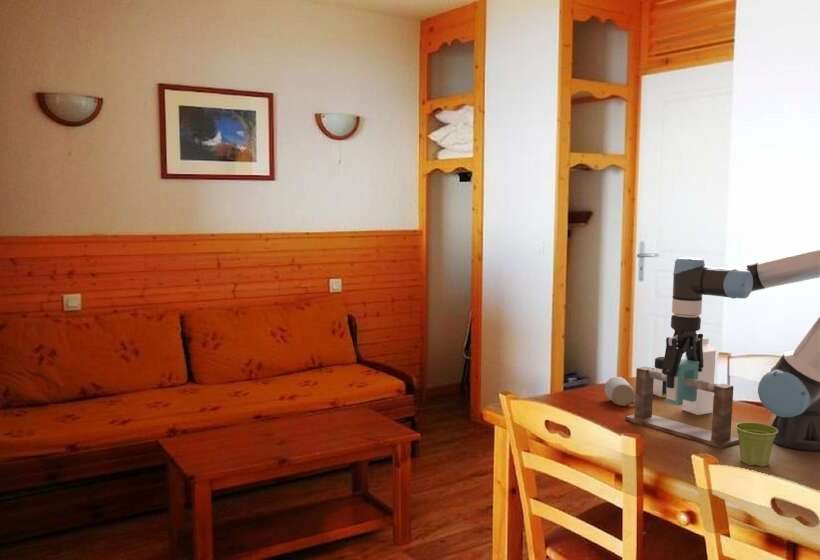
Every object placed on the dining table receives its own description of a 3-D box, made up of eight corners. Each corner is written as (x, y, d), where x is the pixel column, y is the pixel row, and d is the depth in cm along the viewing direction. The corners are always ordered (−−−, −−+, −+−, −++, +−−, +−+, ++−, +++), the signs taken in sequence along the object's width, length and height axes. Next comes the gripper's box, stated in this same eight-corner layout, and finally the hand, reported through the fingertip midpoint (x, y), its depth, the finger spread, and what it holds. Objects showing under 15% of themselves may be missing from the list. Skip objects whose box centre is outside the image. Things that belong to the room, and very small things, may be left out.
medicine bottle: (662, 397, 240) (664, 360, 239) (646, 392, 247) (648, 356, 245) (679, 395, 243) (681, 359, 242) (663, 390, 249) (665, 354, 248)
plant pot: (757, 471, 176) (759, 435, 175) (724, 458, 184) (726, 424, 184) (784, 466, 180) (787, 431, 179) (752, 453, 188) (754, 420, 187)
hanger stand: (739, 442, 197) (743, 386, 195) (722, 448, 192) (726, 390, 190) (642, 415, 221) (645, 364, 219) (625, 419, 216) (627, 368, 214)
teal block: (683, 397, 210) (685, 358, 208) (696, 400, 206) (698, 361, 205) (665, 402, 204) (667, 362, 203) (678, 405, 201) (680, 365, 200)
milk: (682, 410, 226) (685, 338, 224) (696, 407, 229) (700, 336, 227) (698, 415, 221) (701, 341, 219) (712, 412, 224) (716, 340, 221)
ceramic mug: (611, 407, 229) (612, 382, 228) (603, 399, 237) (605, 375, 236) (645, 407, 229) (647, 383, 228) (637, 400, 237) (638, 376, 236)
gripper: (696, 309, 212) (691, 388, 215) (650, 316, 199) (645, 399, 202) (720, 313, 206) (715, 393, 209) (675, 320, 193) (670, 406, 196)
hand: (681, 396), depth 205 cm, fingers closed on teal block, 8 cm apart
